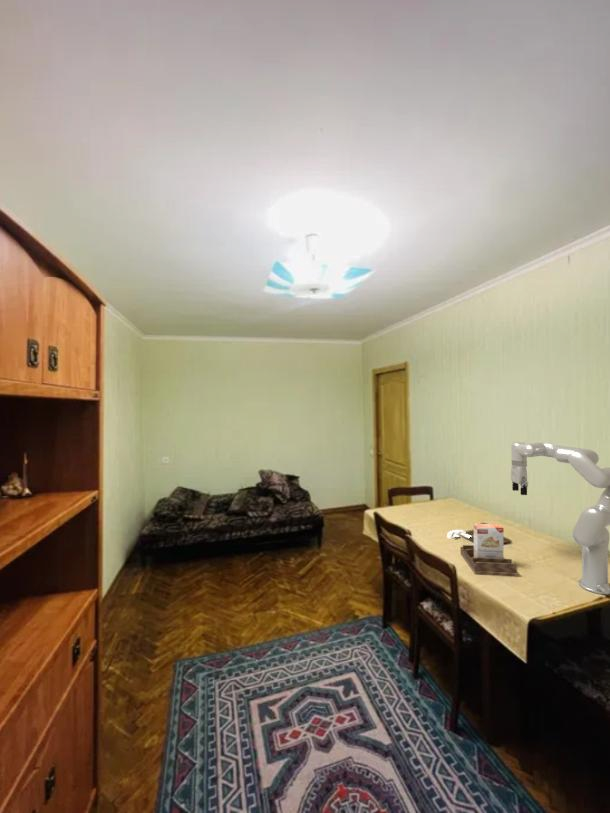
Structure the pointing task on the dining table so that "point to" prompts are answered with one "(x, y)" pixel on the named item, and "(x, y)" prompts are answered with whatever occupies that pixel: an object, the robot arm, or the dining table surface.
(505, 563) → the rack
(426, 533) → the dining table surface
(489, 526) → the cracker box
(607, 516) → the robot arm
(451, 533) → the cloth
